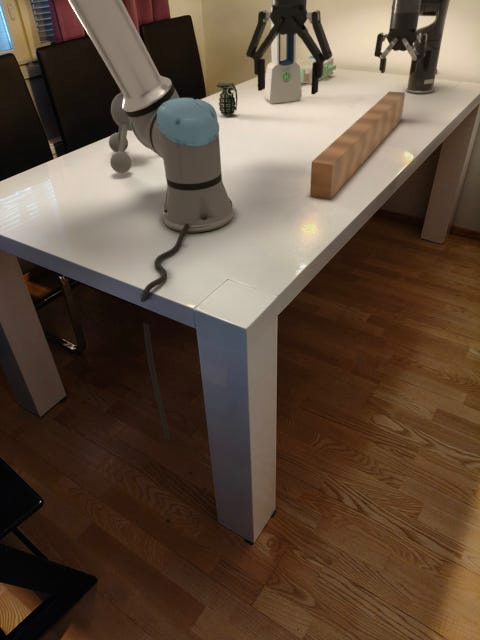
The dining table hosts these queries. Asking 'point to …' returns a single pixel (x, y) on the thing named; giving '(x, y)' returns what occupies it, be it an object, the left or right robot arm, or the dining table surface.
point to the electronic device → (283, 73)
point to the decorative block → (307, 68)
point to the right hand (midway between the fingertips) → (396, 73)
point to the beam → (355, 146)
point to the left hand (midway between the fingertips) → (287, 91)
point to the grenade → (227, 99)
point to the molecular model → (120, 136)
